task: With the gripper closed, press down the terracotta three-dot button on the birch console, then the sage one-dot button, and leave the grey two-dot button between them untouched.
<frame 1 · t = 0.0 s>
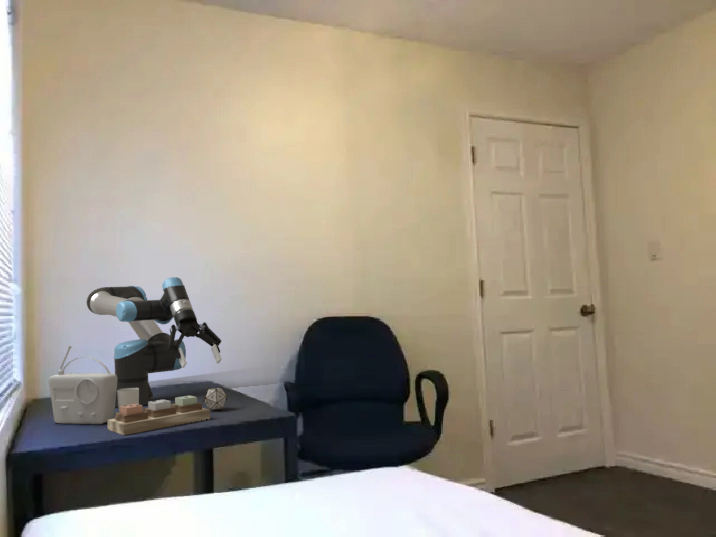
hand: (202, 363, 230), 15 cm above the table, tool tilted 35°, fingers open, 13 cm apart
button two dots: (159, 405, 203), point 6 cm above the table, slide at 0.0 cm
button one dot: (186, 401, 209), point 6 cm above the table, slide at 0.0 cm
radio: (82, 423, 211), on the table
game die: (216, 411, 223), on the table
button three dots: (131, 409, 197), point 6 cm above the table, slide at 0.0 cm
button console: (160, 424, 203), on the table
drinking glass: (129, 421, 211), on the table
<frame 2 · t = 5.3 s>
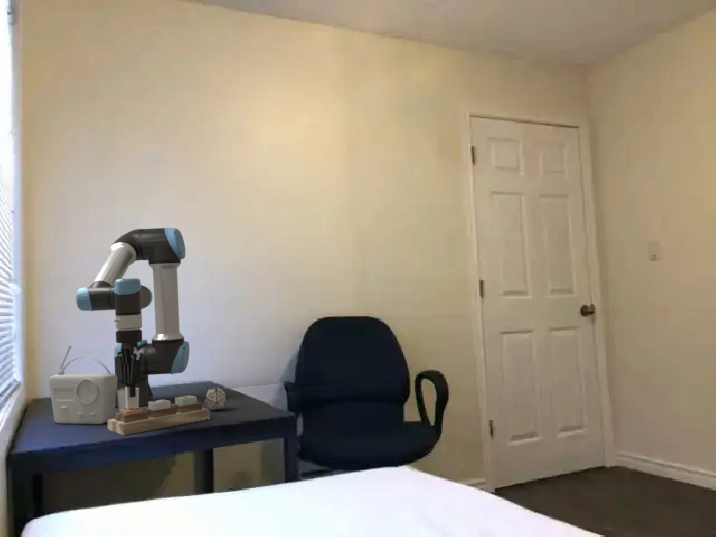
hand: (131, 407, 197), 6 cm above the table, tool pointing down, fingers closed
button three dots: (131, 412, 197), point 5 cm above the table, slide at 0.9 cm, touching gripper
everything else where it was.
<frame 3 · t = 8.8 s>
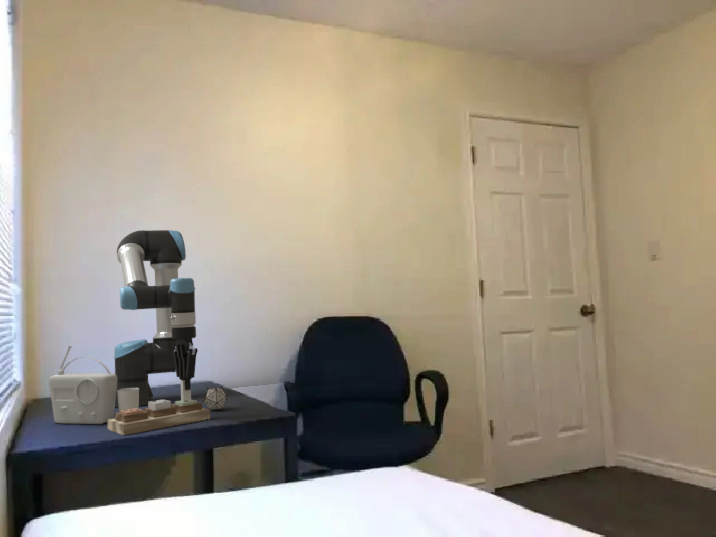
hand: (186, 400, 209), 6 cm above the table, tool pointing down, fingers closed
button one dot: (186, 404, 209), point 5 cm above the table, slide at 1.2 cm, touching gripper
button three dots: (131, 414, 197), point 5 cm above the table, slide at 1.3 cm
everything else where it was.
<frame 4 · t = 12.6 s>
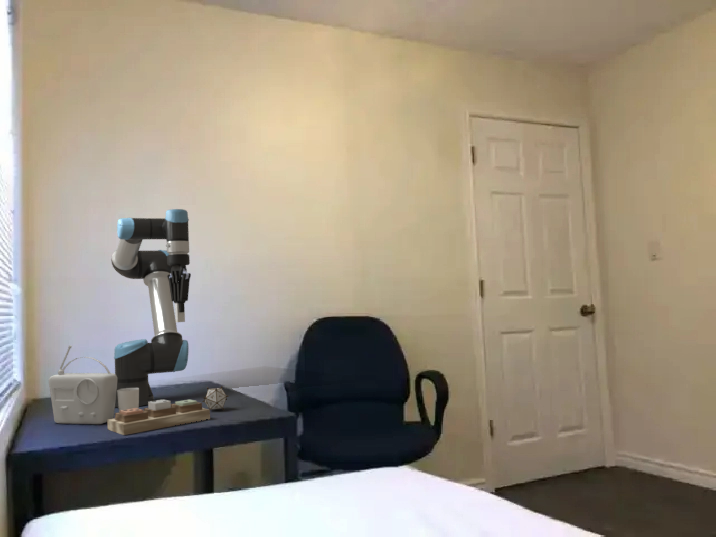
hand: (180, 321, 226), 30 cm above the table, tool pointing down, fingers closed
button one dot: (186, 405, 209), point 5 cm above the table, slide at 1.3 cm
everything else where it was.
at the end: button three dots slide at 1.3 cm; button one dot slide at 1.3 cm; button two dots slide at 0.0 cm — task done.
